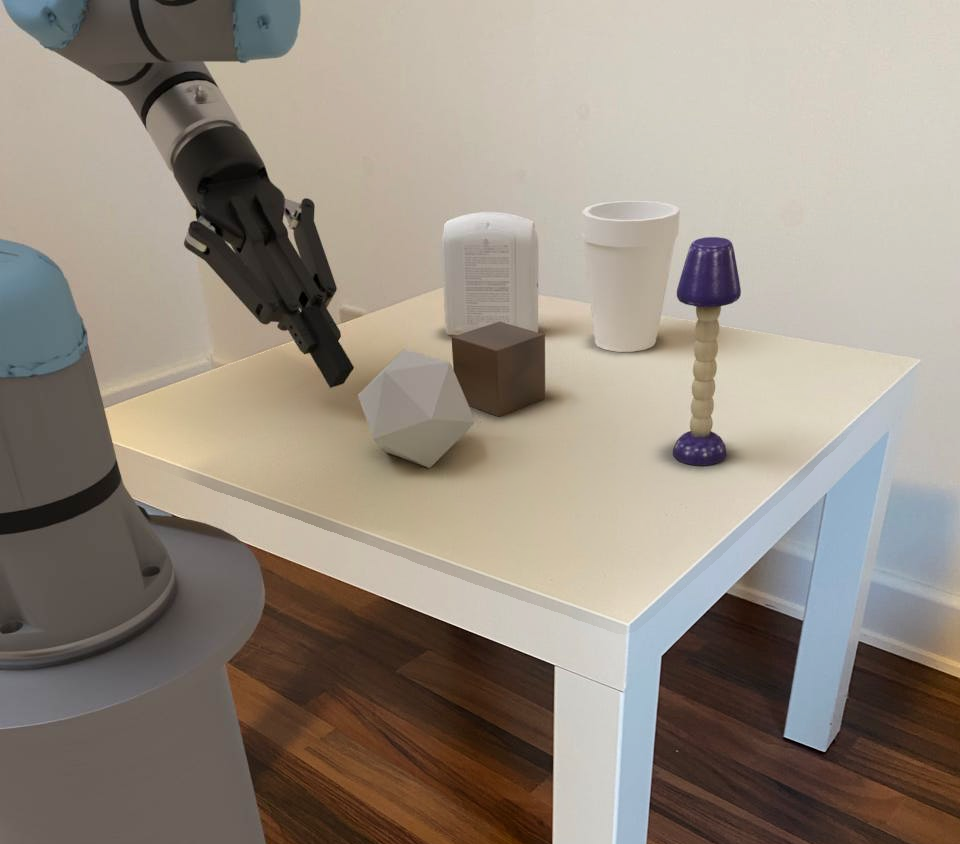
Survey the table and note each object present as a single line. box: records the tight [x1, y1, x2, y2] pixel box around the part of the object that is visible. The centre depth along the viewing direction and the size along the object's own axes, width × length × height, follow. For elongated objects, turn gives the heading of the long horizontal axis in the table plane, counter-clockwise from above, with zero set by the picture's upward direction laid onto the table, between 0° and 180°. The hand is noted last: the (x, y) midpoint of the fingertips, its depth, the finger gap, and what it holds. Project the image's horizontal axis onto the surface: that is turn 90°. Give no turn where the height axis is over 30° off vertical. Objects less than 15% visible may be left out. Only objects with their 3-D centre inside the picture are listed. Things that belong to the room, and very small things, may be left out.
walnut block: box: [451, 322, 546, 417], centre depth 92 cm, size 6×6×6 cm
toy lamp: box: [672, 236, 742, 466], centre depth 77 cm, size 5×5×17 cm
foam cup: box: [580, 199, 681, 353], centre depth 102 cm, size 10×9×13 cm
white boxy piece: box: [440, 211, 539, 336], centre depth 107 cm, size 10×4×12 cm, turn 81°
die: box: [357, 348, 477, 469], centre depth 82 cm, size 8×9×10 cm
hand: (342, 377), depth 89 cm, fingers closed
